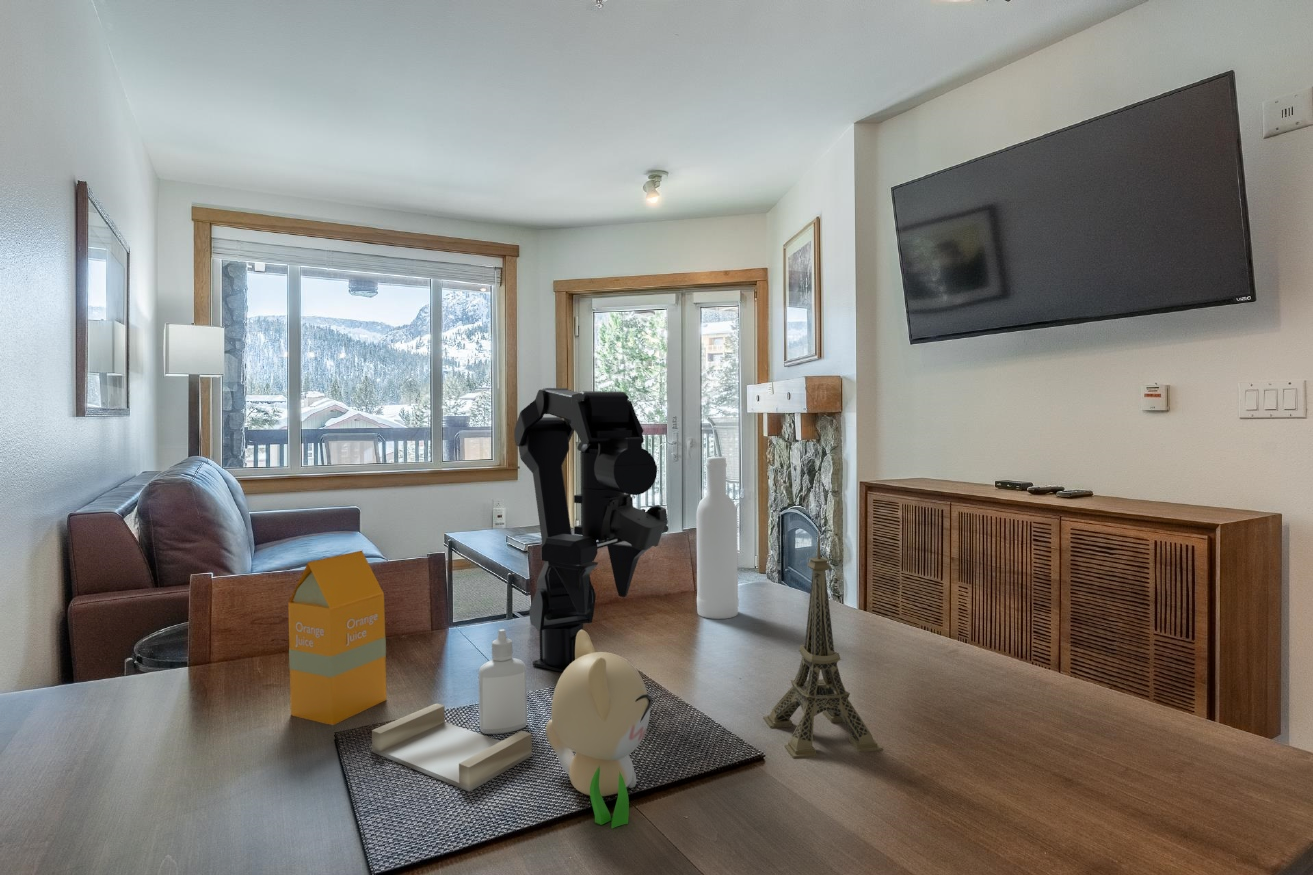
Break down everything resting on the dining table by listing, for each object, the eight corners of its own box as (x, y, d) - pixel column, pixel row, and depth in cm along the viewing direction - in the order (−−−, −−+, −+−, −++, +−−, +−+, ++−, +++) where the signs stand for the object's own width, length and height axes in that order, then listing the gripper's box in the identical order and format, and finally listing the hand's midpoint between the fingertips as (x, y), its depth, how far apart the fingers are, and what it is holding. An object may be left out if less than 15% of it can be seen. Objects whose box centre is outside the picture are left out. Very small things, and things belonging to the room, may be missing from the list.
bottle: (694, 618, 132) (692, 458, 132) (699, 607, 140) (697, 456, 139) (737, 620, 131) (736, 458, 130) (739, 608, 139) (738, 456, 138)
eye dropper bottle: (519, 737, 84) (517, 636, 83) (474, 734, 85) (472, 634, 84) (531, 721, 88) (530, 625, 88) (488, 718, 89) (487, 624, 89)
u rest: (372, 751, 80) (371, 730, 80) (436, 723, 88) (436, 703, 88) (469, 791, 71) (468, 767, 71) (531, 755, 79) (531, 733, 79)
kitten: (673, 821, 66) (671, 661, 66) (566, 840, 63) (563, 673, 63) (632, 749, 80) (631, 618, 80) (544, 762, 77) (541, 626, 77)
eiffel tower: (882, 750, 80) (882, 529, 79) (793, 759, 78) (791, 532, 77) (843, 712, 90) (842, 516, 89) (763, 719, 88) (761, 519, 88)
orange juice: (387, 699, 95) (384, 552, 95) (332, 725, 87) (329, 564, 87) (345, 690, 99) (342, 548, 98) (289, 715, 91) (285, 559, 90)
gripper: (612, 498, 81) (613, 634, 81) (690, 483, 97) (690, 596, 97) (537, 493, 86) (538, 619, 87) (622, 479, 102) (623, 586, 103)
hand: (603, 604), depth 93 cm, fingers open, 9 cm apart
